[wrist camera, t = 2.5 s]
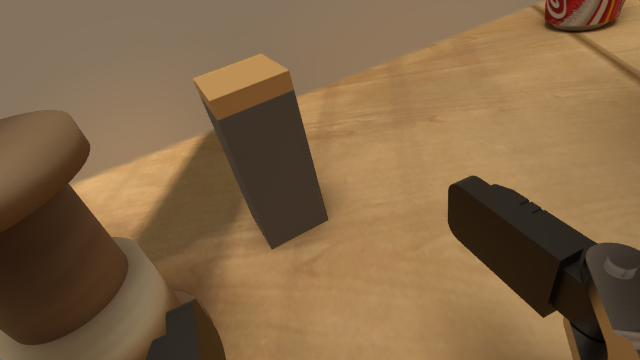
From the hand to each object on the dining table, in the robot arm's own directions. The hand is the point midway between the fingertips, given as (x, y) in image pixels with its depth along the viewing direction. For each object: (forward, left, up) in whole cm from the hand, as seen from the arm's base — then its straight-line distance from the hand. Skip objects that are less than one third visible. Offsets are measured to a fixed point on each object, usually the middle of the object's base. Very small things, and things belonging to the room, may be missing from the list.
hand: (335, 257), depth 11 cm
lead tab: (-1, -11, -8) cm, 14 cm away
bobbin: (+9, -6, -8) cm, 13 cm away
